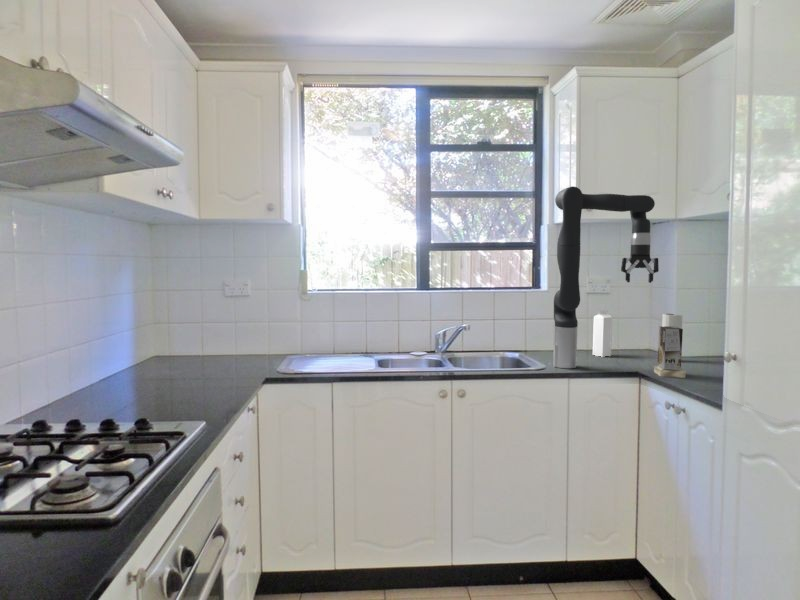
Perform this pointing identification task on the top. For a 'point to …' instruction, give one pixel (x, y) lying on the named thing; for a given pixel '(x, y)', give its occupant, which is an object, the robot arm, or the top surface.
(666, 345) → the coffee box
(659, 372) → the podium
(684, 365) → the top surface
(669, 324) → the paper towel roll
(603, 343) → the milk
